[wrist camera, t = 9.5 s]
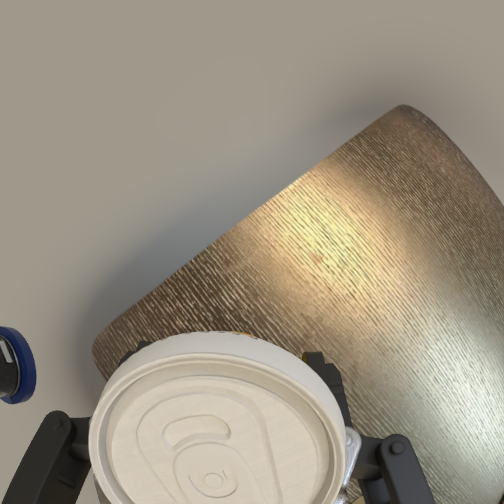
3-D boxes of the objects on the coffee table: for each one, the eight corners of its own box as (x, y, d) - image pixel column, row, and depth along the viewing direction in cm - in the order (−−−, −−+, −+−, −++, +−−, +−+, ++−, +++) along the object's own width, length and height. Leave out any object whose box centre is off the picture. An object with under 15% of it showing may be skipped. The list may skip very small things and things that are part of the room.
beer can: (261, 319, 20) (312, 286, 5) (288, 398, 18) (384, 518, 4) (178, 345, 19) (38, 365, 5) (206, 423, 17) (145, 569, 3)
